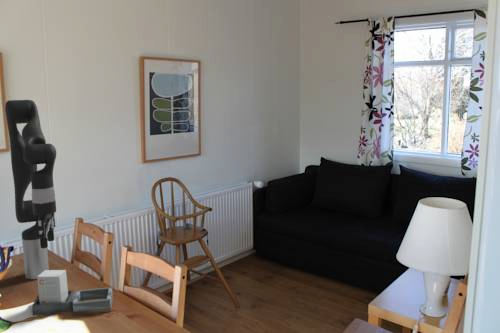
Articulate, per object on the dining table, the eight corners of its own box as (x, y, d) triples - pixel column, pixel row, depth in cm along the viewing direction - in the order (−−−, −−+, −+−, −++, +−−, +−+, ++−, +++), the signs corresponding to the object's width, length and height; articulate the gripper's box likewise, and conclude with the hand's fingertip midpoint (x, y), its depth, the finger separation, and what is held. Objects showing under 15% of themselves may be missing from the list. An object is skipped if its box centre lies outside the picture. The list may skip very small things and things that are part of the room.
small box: (69, 302, 166) (66, 269, 164) (61, 310, 160) (59, 276, 158) (47, 302, 166) (44, 269, 164) (39, 310, 160) (36, 276, 158)
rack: (77, 300, 168) (76, 290, 167) (113, 296, 171) (112, 286, 170) (72, 315, 156) (71, 304, 156) (111, 311, 159) (110, 300, 158)
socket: (39, 301, 167) (39, 293, 167) (75, 298, 170) (74, 289, 169) (32, 315, 156) (31, 306, 156) (70, 311, 159) (69, 302, 159)
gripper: (38, 196, 164) (42, 239, 166) (26, 205, 150) (30, 251, 153) (60, 195, 166) (63, 237, 168) (49, 203, 152) (53, 249, 154)
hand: (47, 244), depth 160 cm, fingers open, 8 cm apart
